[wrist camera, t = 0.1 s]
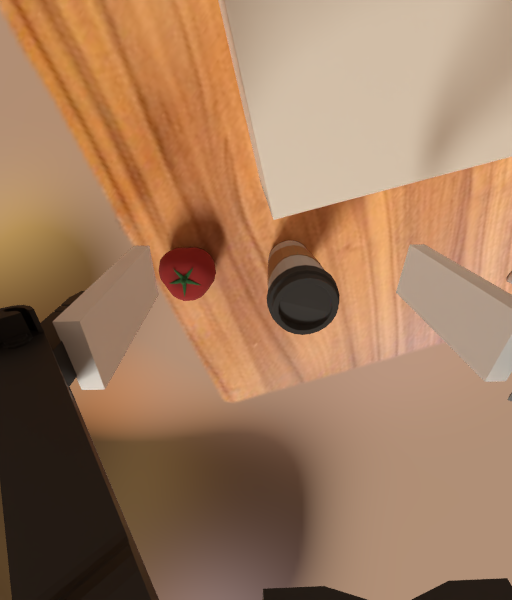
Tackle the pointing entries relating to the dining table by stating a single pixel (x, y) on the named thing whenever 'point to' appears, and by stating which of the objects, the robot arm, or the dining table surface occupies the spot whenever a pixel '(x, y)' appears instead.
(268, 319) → the dining table surface
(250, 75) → the open box
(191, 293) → the tomato
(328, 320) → the coffee cup
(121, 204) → the dining table surface
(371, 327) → the dining table surface
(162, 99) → the dining table surface
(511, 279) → the tall pale column
